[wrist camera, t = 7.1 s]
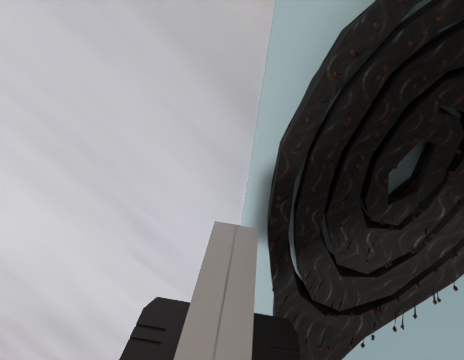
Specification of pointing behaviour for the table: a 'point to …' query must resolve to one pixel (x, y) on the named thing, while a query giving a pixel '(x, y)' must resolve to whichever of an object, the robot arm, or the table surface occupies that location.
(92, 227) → the table surface
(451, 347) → the plate
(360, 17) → the hairbrush
